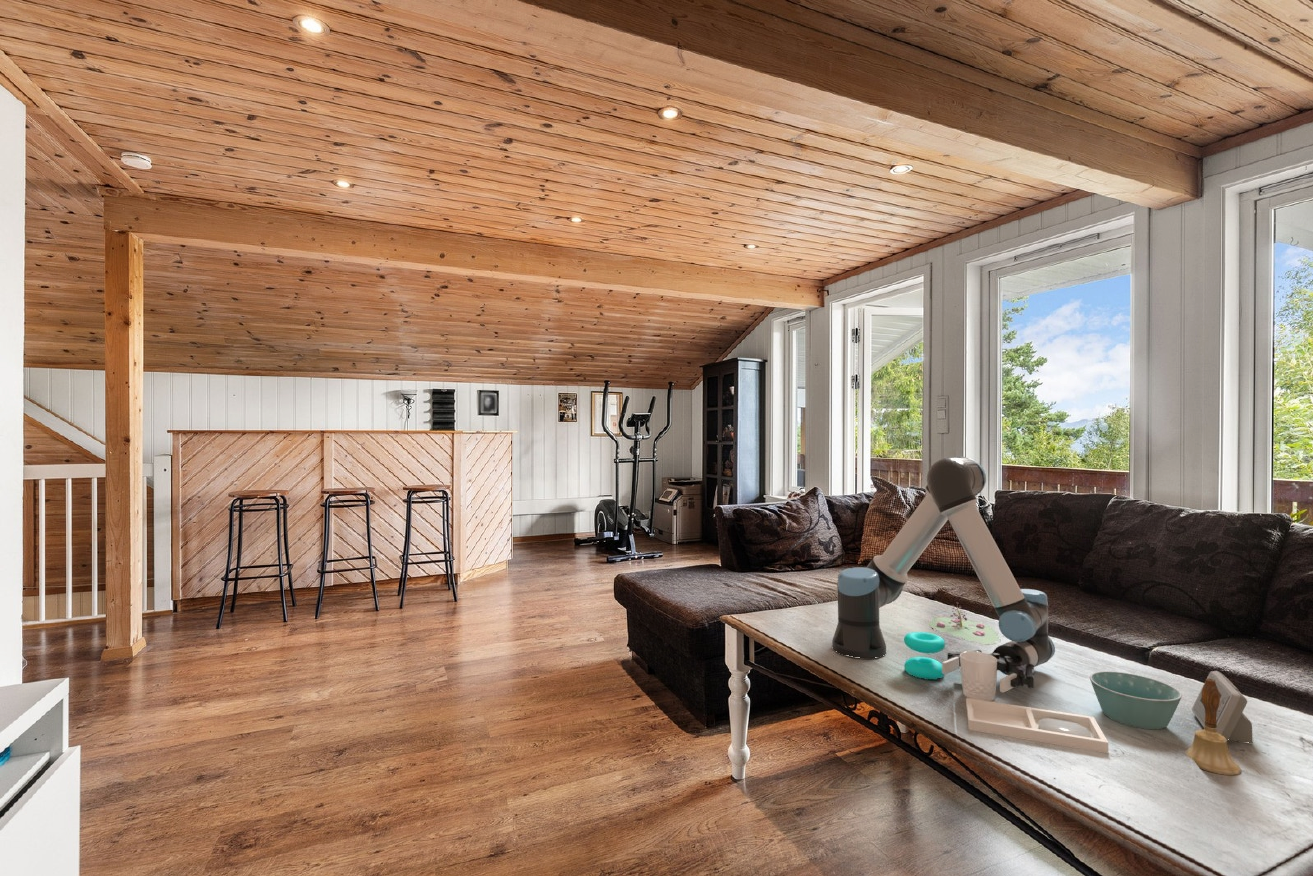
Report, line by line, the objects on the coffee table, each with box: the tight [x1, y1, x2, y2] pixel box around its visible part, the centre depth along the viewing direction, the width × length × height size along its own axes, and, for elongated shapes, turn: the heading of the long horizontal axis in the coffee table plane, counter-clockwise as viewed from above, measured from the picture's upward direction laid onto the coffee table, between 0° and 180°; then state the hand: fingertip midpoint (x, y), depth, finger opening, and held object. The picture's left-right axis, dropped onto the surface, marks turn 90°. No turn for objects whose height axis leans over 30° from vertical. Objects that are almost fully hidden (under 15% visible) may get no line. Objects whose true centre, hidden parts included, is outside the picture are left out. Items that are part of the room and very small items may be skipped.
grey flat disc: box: [1038, 718, 1091, 738], centre depth 125 cm, size 9×9×1 cm
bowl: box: [1089, 671, 1183, 730], centre depth 131 cm, size 16×16×8 cm
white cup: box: [960, 651, 998, 702], centre depth 144 cm, size 8×8×10 cm
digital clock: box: [1191, 670, 1254, 744], centre depth 127 cm, size 16×9×11 cm, turn 139°
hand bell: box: [1185, 678, 1242, 776], centre depth 114 cm, size 8×8×16 cm
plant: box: [929, 602, 1002, 646], centre depth 195 cm, size 25×21×9 cm
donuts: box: [903, 631, 946, 680], centre depth 160 cm, size 10×10×10 cm
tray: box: [965, 697, 1110, 754], centre depth 127 cm, size 24×12×3 cm, turn 65°
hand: (971, 676), depth 142 cm, fingers open, 13 cm apart
